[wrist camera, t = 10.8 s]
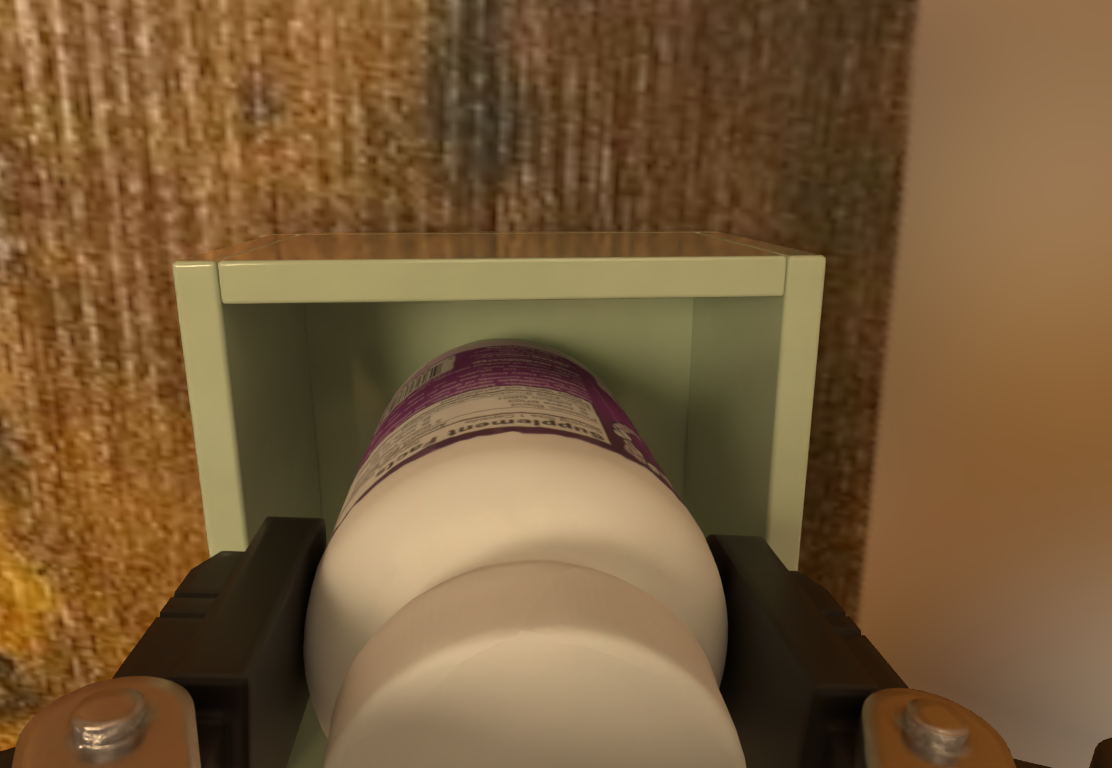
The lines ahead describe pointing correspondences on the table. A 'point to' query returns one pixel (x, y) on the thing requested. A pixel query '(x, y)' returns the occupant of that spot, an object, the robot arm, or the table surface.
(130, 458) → the table surface
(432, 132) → the table surface
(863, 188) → the table surface
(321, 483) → the green open box
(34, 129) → the table surface
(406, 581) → the pill bottle
